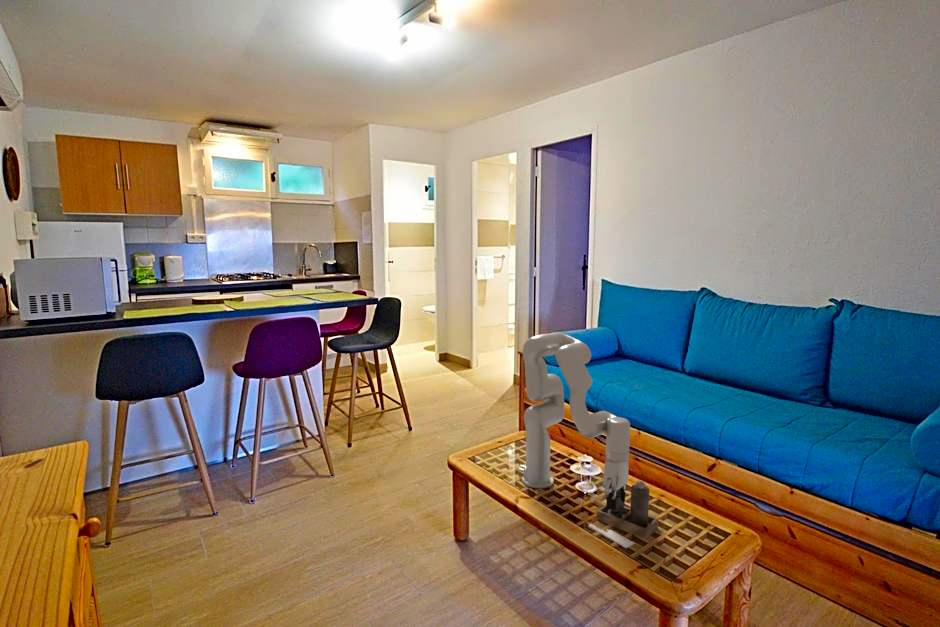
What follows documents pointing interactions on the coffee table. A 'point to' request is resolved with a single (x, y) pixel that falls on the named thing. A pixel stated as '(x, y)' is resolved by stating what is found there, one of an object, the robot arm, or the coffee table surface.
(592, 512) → the coffee table surface
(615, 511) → the salt shaker
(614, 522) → the cruet stand
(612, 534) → the white plastic blade
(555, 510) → the coffee table surface
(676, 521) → the coffee table surface
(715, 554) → the coffee table surface
